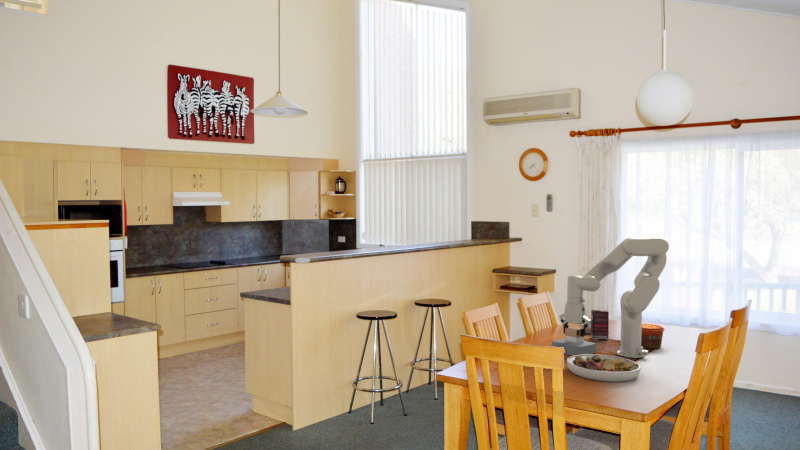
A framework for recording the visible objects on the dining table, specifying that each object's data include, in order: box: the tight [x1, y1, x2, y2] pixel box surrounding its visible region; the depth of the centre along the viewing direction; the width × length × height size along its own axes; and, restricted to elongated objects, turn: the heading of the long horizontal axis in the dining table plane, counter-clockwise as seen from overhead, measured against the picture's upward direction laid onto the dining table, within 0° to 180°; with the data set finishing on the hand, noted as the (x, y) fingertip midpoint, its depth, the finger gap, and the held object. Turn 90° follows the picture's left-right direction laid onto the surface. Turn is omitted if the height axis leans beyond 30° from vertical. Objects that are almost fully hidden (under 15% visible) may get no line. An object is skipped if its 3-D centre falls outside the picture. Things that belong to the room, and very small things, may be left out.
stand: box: [551, 338, 597, 357], centre depth 288 cm, size 16×14×5 cm
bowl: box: [566, 353, 641, 383], centre depth 251 cm, size 30×30×8 cm
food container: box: [641, 323, 665, 350], centre depth 305 cm, size 16×16×11 cm
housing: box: [564, 326, 585, 344], centre depth 288 cm, size 6×6×7 cm
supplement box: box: [590, 309, 610, 341], centre depth 321 cm, size 9×5×16 cm, turn 84°
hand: (574, 334), depth 288 cm, fingers open, 9 cm apart
